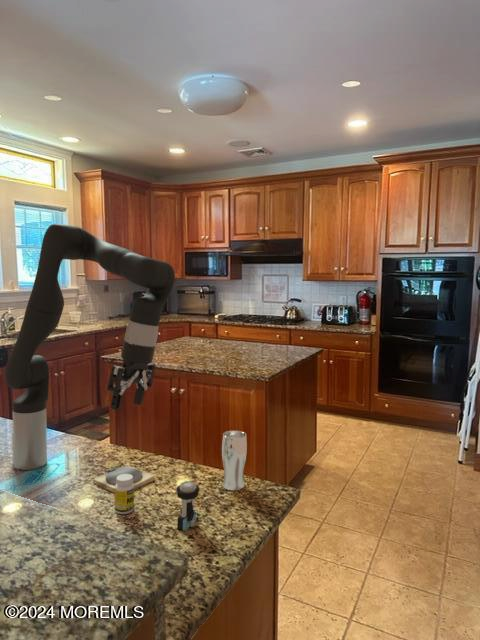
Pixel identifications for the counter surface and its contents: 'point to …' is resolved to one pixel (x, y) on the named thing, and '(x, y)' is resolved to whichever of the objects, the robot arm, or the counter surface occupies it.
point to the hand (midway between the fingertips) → (126, 406)
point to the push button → (187, 504)
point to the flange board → (110, 478)
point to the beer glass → (234, 459)
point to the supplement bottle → (124, 494)
